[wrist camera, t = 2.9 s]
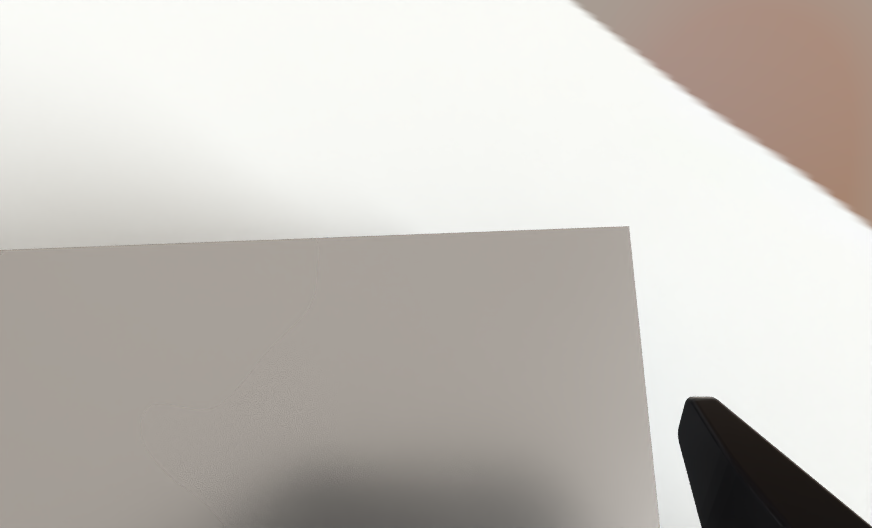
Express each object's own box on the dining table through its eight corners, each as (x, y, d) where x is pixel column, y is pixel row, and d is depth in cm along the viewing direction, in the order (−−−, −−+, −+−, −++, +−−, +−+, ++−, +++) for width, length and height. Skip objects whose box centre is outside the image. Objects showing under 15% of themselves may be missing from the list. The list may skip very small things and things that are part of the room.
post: (525, 494, 14) (753, 1299, 2) (389, 491, 15) (-213, 1115, 2) (519, 353, 15) (637, 217, 3) (391, 354, 16) (-14, 244, 3)
